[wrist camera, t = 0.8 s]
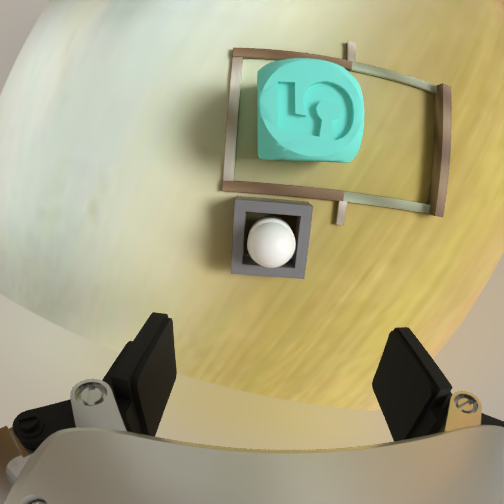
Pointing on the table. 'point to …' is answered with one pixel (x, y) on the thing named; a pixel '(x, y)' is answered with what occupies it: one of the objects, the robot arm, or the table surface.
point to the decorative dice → (308, 111)
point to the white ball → (271, 242)
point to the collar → (302, 234)
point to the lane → (433, 207)
